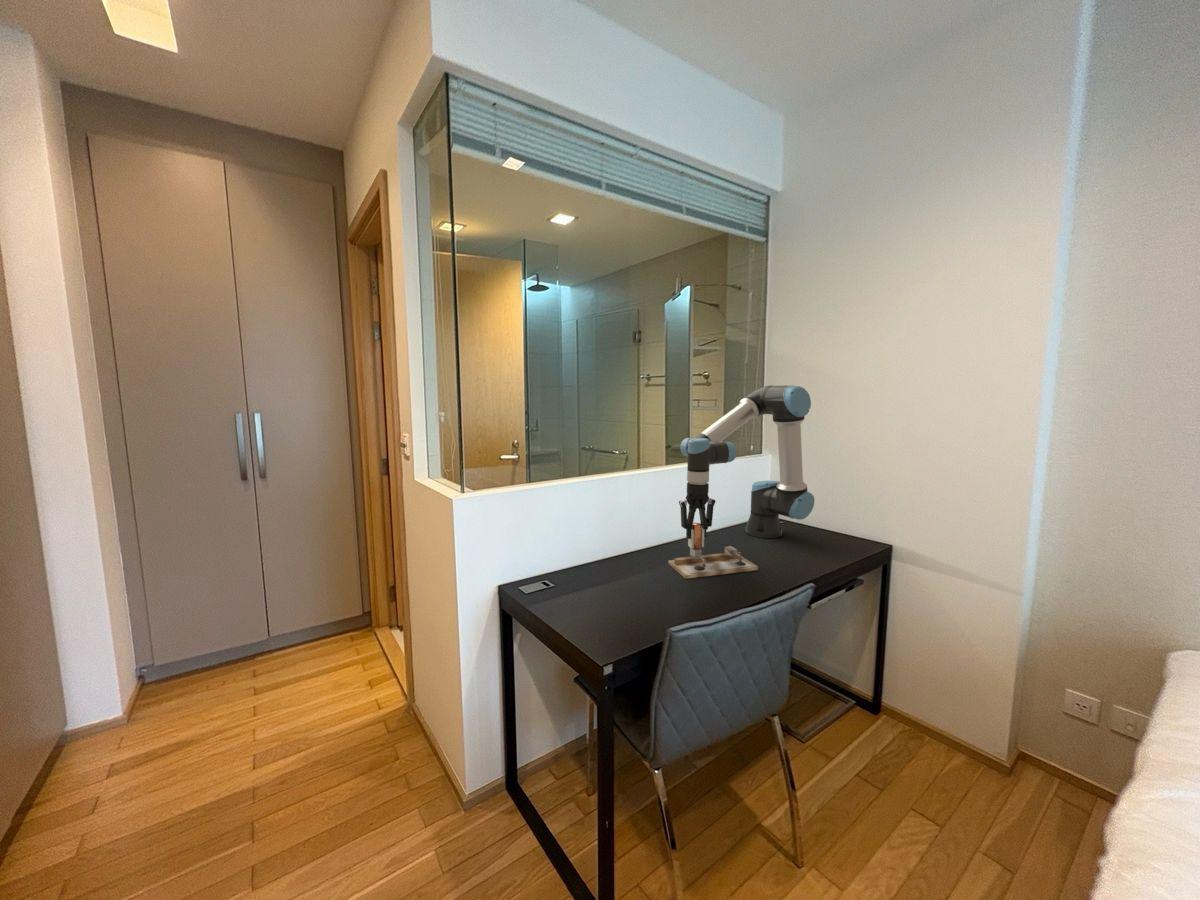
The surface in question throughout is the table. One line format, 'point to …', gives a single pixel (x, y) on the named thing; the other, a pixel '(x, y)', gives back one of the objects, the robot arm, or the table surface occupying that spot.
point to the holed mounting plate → (713, 564)
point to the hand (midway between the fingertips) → (695, 546)
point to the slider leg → (697, 543)
